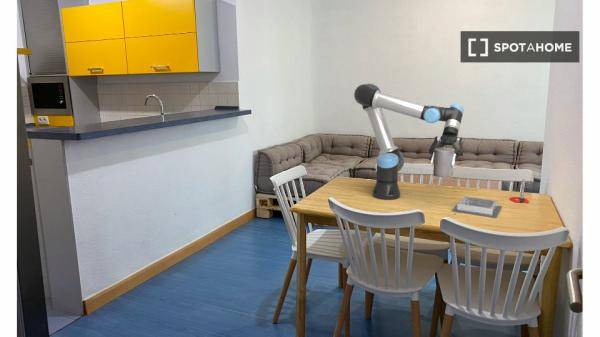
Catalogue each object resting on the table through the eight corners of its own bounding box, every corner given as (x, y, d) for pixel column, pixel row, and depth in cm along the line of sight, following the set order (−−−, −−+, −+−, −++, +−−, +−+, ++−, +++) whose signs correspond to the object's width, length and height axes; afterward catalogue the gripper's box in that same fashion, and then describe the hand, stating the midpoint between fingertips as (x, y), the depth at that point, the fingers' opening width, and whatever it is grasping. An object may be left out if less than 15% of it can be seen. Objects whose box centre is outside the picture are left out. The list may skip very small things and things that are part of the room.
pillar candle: (431, 173, 214) (432, 145, 211) (450, 172, 213) (451, 144, 210) (435, 177, 204) (436, 148, 201) (455, 177, 204) (457, 148, 200)
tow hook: (507, 198, 222) (513, 202, 213) (509, 175, 220) (515, 178, 211) (523, 199, 221) (530, 203, 212) (525, 175, 219) (532, 179, 210)
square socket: (452, 211, 201) (452, 204, 201) (460, 202, 216) (460, 195, 215) (496, 218, 191) (497, 210, 190) (501, 207, 205) (502, 200, 205)
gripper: (474, 135, 211) (466, 171, 202) (431, 133, 223) (421, 167, 214) (472, 126, 206) (464, 162, 196) (428, 124, 218) (418, 159, 208)
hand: (442, 165), depth 205 cm, fingers closed on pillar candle, 9 cm apart
